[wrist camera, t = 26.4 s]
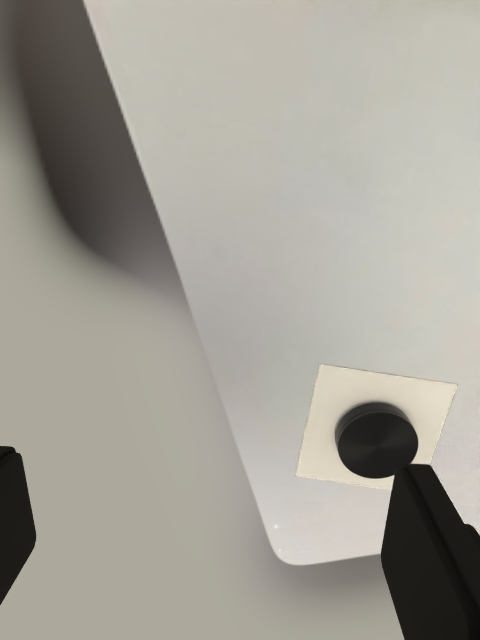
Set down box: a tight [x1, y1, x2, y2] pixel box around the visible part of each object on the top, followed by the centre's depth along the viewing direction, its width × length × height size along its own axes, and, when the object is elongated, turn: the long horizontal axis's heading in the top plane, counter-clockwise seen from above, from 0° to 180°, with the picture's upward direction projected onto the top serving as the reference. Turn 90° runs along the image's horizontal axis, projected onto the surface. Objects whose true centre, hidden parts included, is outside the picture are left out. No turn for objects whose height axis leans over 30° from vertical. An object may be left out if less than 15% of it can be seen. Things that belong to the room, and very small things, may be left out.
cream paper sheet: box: [295, 364, 458, 490], centre depth 38 cm, size 12×12×2 cm
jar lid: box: [335, 402, 418, 479], centre depth 38 cm, size 7×7×2 cm
